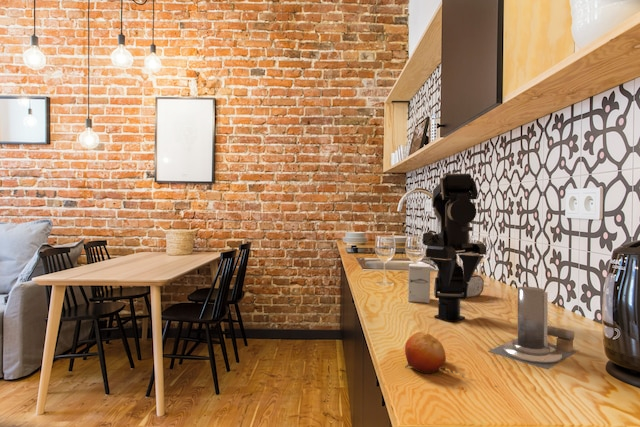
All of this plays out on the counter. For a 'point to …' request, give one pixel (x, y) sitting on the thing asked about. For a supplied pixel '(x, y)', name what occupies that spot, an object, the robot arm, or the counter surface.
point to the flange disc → (551, 358)
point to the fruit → (424, 353)
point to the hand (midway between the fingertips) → (456, 284)
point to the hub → (532, 322)
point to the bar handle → (562, 338)
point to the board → (500, 352)
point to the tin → (475, 286)
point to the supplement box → (419, 283)
